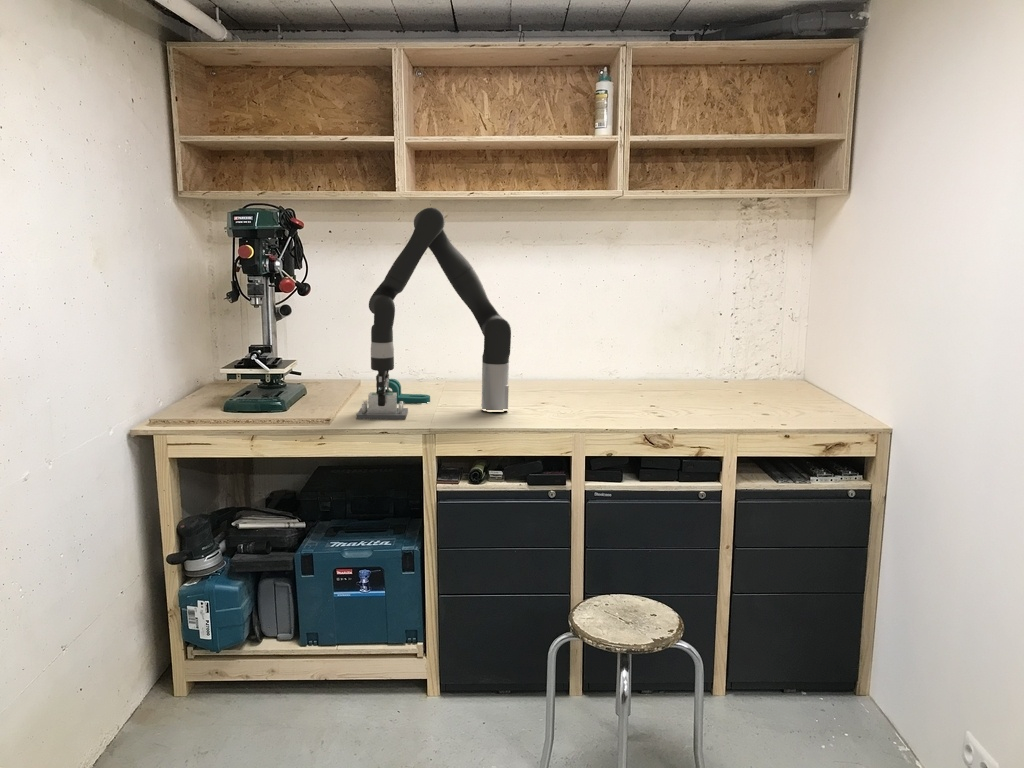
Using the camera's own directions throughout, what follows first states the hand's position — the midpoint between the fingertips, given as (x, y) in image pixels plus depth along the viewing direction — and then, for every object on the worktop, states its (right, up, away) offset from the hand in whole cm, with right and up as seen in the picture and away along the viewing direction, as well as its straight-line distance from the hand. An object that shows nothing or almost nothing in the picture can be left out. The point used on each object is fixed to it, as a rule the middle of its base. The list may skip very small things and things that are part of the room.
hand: (383, 403), depth 229 cm
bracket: (+4, 0, +23) cm, 23 cm away
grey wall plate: (0, -4, +1) cm, 4 cm away
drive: (0, -3, +1) cm, 3 cm away
